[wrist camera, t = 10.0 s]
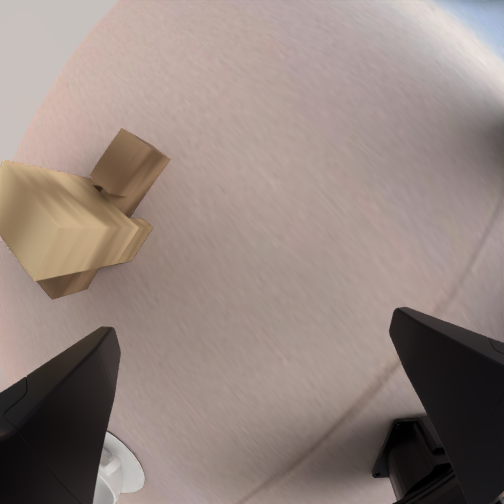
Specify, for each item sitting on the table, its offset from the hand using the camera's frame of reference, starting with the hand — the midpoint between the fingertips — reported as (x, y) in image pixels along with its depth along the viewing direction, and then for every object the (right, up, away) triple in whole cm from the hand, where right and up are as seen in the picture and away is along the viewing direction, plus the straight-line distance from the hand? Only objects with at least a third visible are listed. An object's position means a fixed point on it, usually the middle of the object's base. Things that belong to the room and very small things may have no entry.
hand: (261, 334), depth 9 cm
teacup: (-15, -19, +15) cm, 28 cm away
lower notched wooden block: (-10, +5, +12) cm, 17 cm away
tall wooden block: (-10, +5, +12) cm, 17 cm away
